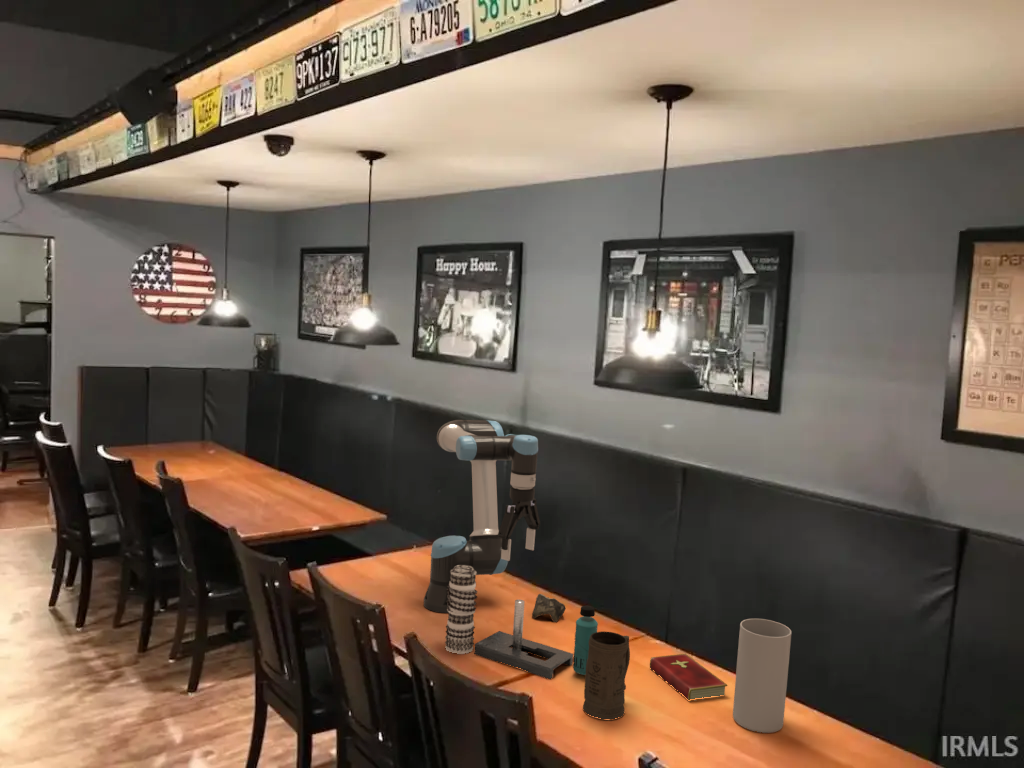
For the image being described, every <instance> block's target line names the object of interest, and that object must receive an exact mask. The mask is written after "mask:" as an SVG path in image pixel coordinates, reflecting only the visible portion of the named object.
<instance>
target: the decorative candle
mask: <svg viewBox="0 0 1024 768" xmlns="http://www.w3.org/2000/svg"><path fill="white" fill-rule="evenodd" d="M450 573H451V575H450V583H449V584H448V585H447V587H448V589H447V591H448V596H447V598H448V600H447V605H448V607H447V611H448V612H449V613H447V614H448V616H447V622H446V626H445V628H446V631H445V634H446V635H445V636H444V637H445V638H444V639H445V641H444V643H445V646H444V649H445V648H446V649H445V650H446V651H447V652H448V651H449V652H448V653H450V652H452V653H451V654H453V653H457V654H456V655H466V654H470V653H471V652H473V650H474V647H473V646H475V643H474V640H475V637H474V634H475V631H474V630H475V628H476V627H475V623H474V622H475V621H474V614H475V612H476V609H477V606H476V605H477V602H476V601H475V600H477V598H478V595H477V594H478V593H479V591H478V590H477V589H476V587H477V582H476V579H477V578H476V576H477V575H476V574H477V572H476V571H475V570H474V569H473V567H471V566H469V565H457V566H455V567H454V568H453V569H452V570H451V571H450ZM449 590H450V591H449ZM449 597H450V598H449ZM449 601H450V602H449ZM469 652H470V653H469ZM465 653H466V654H465Z"/></svg>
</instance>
